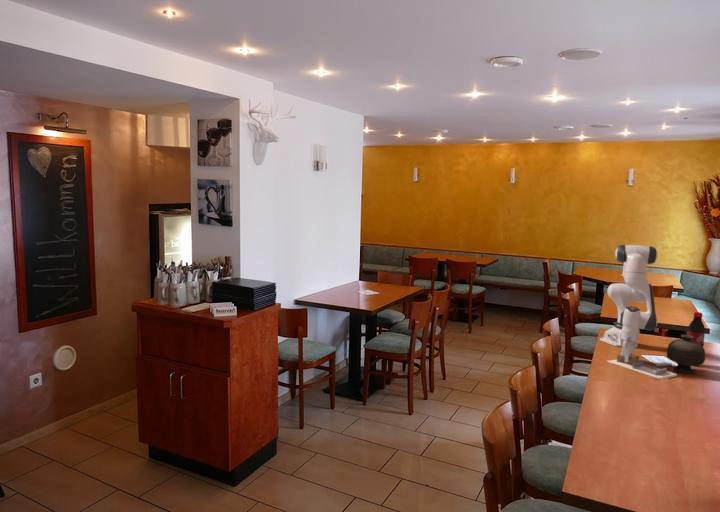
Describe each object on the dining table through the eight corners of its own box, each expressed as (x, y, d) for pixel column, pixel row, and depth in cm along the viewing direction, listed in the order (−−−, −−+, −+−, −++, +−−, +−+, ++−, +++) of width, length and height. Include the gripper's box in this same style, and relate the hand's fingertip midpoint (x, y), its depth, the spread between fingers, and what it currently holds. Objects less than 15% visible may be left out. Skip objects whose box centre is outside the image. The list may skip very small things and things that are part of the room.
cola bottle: (704, 367, 295) (710, 314, 292) (689, 366, 295) (695, 313, 292) (695, 362, 303) (701, 311, 300) (680, 361, 304) (686, 310, 300)
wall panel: (606, 363, 296) (607, 356, 295) (624, 359, 303) (625, 353, 303) (658, 380, 270) (658, 373, 269) (676, 376, 277) (677, 369, 277)
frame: (616, 361, 295) (617, 353, 294) (618, 359, 299) (619, 351, 299) (636, 365, 289) (637, 357, 289) (638, 363, 293) (639, 355, 293)
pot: (671, 373, 279) (674, 336, 279) (660, 366, 297) (663, 330, 296) (709, 378, 275) (713, 340, 275) (695, 370, 293) (699, 334, 292)
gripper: (632, 341, 282) (630, 366, 284) (639, 333, 299) (637, 357, 300) (619, 338, 286) (617, 363, 288) (627, 331, 302) (625, 355, 304)
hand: (627, 360), depth 294 cm, fingers closed on frame, 5 cm apart
